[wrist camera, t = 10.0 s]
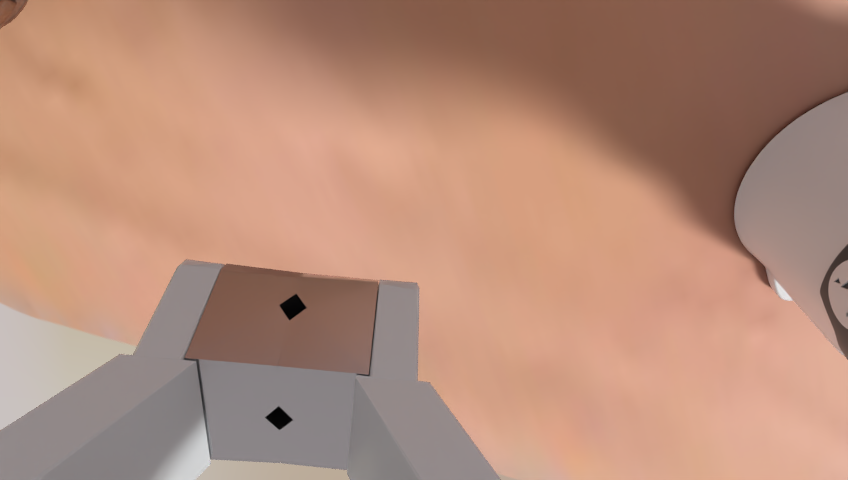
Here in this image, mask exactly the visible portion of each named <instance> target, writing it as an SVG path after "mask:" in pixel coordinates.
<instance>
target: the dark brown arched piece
mask: <svg viewBox="0 0 848 480" xmlns="http://www.w3.org/2000/svg"><path fill="white" fill-rule="evenodd" d="M27 1H28V0H0V28H2V27H3V26H5V25H6V24H8V23H10V22H11V21H12V20H13V19H15V18H16V17H17V16H18V14H19V13H20V12H21V11H22V10H23V8H24V7H25V5H26V3H27Z"/></svg>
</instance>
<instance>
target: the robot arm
mask: <svg viewBox="0 0 848 480" xmlns="http://www.w3.org/2000/svg"><path fill="white" fill-rule="evenodd" d="M734 221H735V227H736V231H737V234H738V236H739V238H740V240H741V242H742V244H743V245H744V246H745V248H746V249H747V250H748V251H749V252H750V253H751V254H752V255H753V256H755V257H756V258H757V259H758V260H759V261H760V262H761V263H762V264H763V265H764V266H765V268H766V272H767V277H768V281H769V284H770V286H771V288H772V289H773V290H774V291H775V293H776V294H777V295H778V296H779V297H780V298H781V299H783V300H788V301H794V302H795V303H796V304H797V305H798V307H799V308H800V309H801V310H802V311H803V312H804V313H805V315H806V316H807V317H808V318H809V319H810V320H811V321H812V323H813V324H814V325H815V326H816V327H817V328H818V329H819V330H820V332H821V333H822V334H823V335H824V336H825V337H826V338H827V339H828V341H829V342H830V343H831V344H832V345H833V346H834V347H835V348H836V349H837V350H838V351H839V352H840V353H841V354H843V355H844V356H845V357H846V358H847V359H848V92H847V93H844V94H842V95H839V96H837V97H835V98H833V99H830V100H828V101H826V102H824V103H822V104H820V105H818V106H817V107H815V108H813V109H811V110H810V111H808V112H806V113H805V114H803V115H802V116H800V117H799V118H797V119H796V120H795V121H793V122H792V123H791V124H789V125H788V126H787V127H786V128H784V129H783V130H782V131H781V132H780V133H779V134H777V135H776V136H775V137H774V138H773V139H772V140H771V141H770V142H769V143H768V144H767V145H766V147H765V148H764V149H763V150H762V151H761V152H760V154H759V155H758V156H757V157H756V159H755V160H754V161H753V163H752V164H751V166H750V167H749V169H748V171H747V172H746V174H745V176H744V178H743V180H742V183H741V185H740V187H739V190H738V193H737V197H736V201H735V208H734ZM418 331H419V286H418V284H417V283H414V282H402V281H390V280H380V281H379V285H378V280H371V279H360V278H350V277H339V276H328V275H318V274H307V273H297V272H289V271H281V270H273V269H265V268H257V267H249V266H241V265H233V264H226V265H224V264H218V263H211V262H203V261H195V260H187V259H186V260H185V261H184V262H183V263H181V264H180V265H179V266H178V267H177V269H176V271H175V273H174V275H173V277H172V279H171V281H170V283H169V284H168V286H167V288H166V290H165V292H164V294H163V296H162V298H161V300H160V302H159V304H158V306H157V308H156V310H155V312H154V314H153V316H152V318H151V320H150V322H149V324H148V326H147V328H146V330H145V332H144V334H143V336H142V338H141V340H140V342H139V344H138V346H137V348H136V350H135V352H134V353H133V355H123V354H119V355H118V356H116V357H114V358H113V359H111V360H110V361H108V362H107V363H105V364H104V365H102V366H101V367H99V368H97V369H96V370H94V371H93V372H91V373H90V374H88V375H86V376H85V377H83V378H82V379H80V380H79V381H77V382H75V383H74V384H72V385H71V386H69V387H68V388H66V389H64V390H63V391H61V392H60V393H58V394H57V395H55V396H54V397H52V398H50V399H49V400H47V401H46V402H44V403H43V404H41V405H39V406H38V407H36V408H35V409H33V410H32V411H30V412H28V413H27V414H26V415H24V416H22V417H21V418H19V419H18V420H16V421H15V422H13V423H11V424H10V425H8V426H7V427H5V428H4V429H2V430H0V480H195V479H196V478H197V477H198V476H199V475H200V474H201V473H202V472H203V471H204V470H205V469H206V468H207V467H208V466H209V465H210V464H211V462H210V459H215V460H235V461H253V462H273V463H280V462H281V463H286V464H295V465H305V466H314V467H324V468H332V469H343V470H347V474H348V476H349V479H350V480H501V479H500V478H499V476H498V475H497V474H496V472H495V471H494V469H493V468H492V467H491V465H490V464H489V463H488V461H487V460H486V459H485V457H484V456H483V454H482V453H481V452H480V450H479V449H478V448H477V446H476V445H475V444H474V442H473V441H472V439H471V438H470V437H469V435H468V434H467V433H466V431H465V430H464V429H463V427H462V426H461V424H460V423H459V422H458V420H457V419H456V418H455V416H454V415H453V414H452V412H451V411H450V409H449V408H448V407H447V405H446V404H445V403H444V401H443V400H442V399H441V397H440V396H439V394H438V393H437V392H436V390H435V389H434V388H433V386H432V385H431V384H430V382H423V381H418Z"/></svg>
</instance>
